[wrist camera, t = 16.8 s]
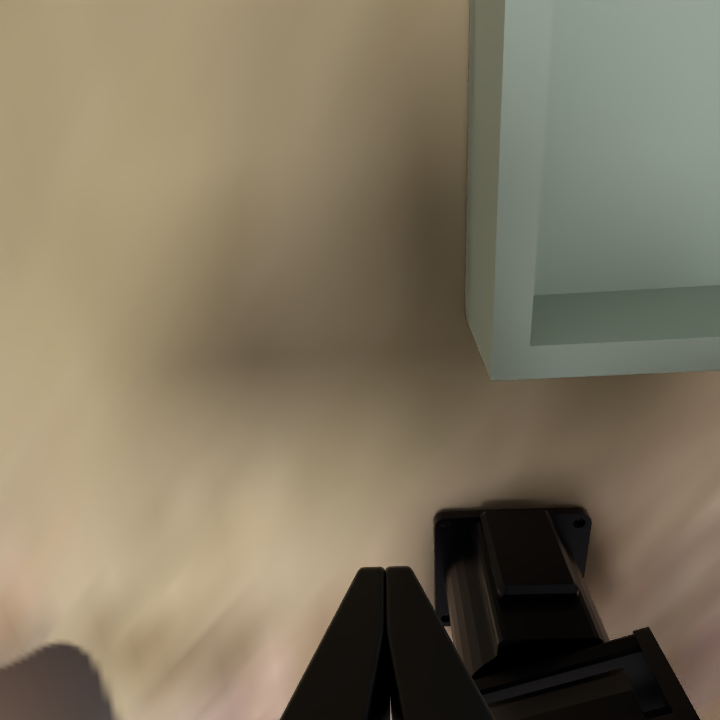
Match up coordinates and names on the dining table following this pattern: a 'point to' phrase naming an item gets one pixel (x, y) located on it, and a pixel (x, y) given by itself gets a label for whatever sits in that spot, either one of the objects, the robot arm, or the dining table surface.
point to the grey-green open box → (593, 187)
